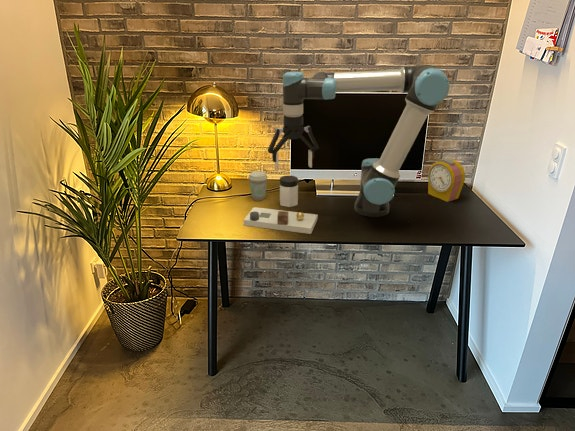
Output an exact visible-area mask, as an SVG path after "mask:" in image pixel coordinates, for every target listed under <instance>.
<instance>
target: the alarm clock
mask: <svg viewBox="0 0 575 431" xmlns="http://www.w3.org/2000/svg"><path fill="white" fill-rule="evenodd" d="M427 180H428V181H427V182H428V184H427V186H428V187H427V189H428V191H427V194H428V195H431V196H432V197H434V198H438V199H440V200H442V201H445V202H447V203H448V202H452V201H455V200H457V199H459V197H460V194H461V191H462V189H463V186H464V184H465V181H466V172H465V169H464V167H463V165H462V164H461V163H460V162H459V161H458V160H456V159H452V158H440V159H439V161H437V162H434V163H432V164H431V166H430V167H429V169H428V172H427Z"/></svg>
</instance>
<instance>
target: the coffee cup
mask: <svg viewBox="0 0 575 431" xmlns="http://www.w3.org/2000/svg"><path fill="white" fill-rule="evenodd" d="M248 179H249V185H250V186H249V187H250V193H251V199H252V200H253V201H264V200H265V198H266V197H265V196H266V190H267V188H266V187H267V181H268V174H267V173H266V172H265V171H262V170H254V171H252V172H250V173H249V176H248Z"/></svg>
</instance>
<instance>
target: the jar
mask: <svg viewBox="0 0 575 431" xmlns="http://www.w3.org/2000/svg"><path fill="white" fill-rule="evenodd" d="M298 202H299V178H298V177H297V176H294V175H283V176H280V178H279V205H280V206H282V207H286V208H292V207H295V206H298Z"/></svg>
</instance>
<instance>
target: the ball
mask: <svg viewBox="0 0 575 431" xmlns="http://www.w3.org/2000/svg"><path fill="white" fill-rule="evenodd" d="M303 213H304V212H301V211H299V212H298V213H297V215H296V218H297V219H298V220H302V219H303V218H304V214H303Z"/></svg>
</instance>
